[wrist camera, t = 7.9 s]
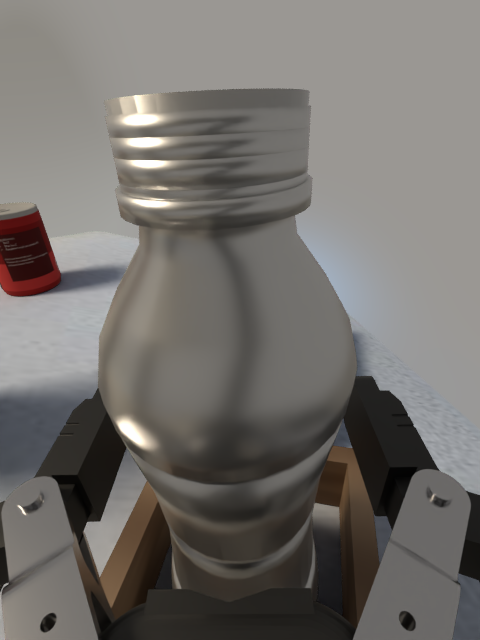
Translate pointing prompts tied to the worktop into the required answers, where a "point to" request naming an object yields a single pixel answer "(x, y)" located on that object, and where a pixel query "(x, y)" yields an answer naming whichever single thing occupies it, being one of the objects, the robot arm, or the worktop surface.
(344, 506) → the open wooden box
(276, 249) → the plastic bottle
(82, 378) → the worktop surface
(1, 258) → the canned food
